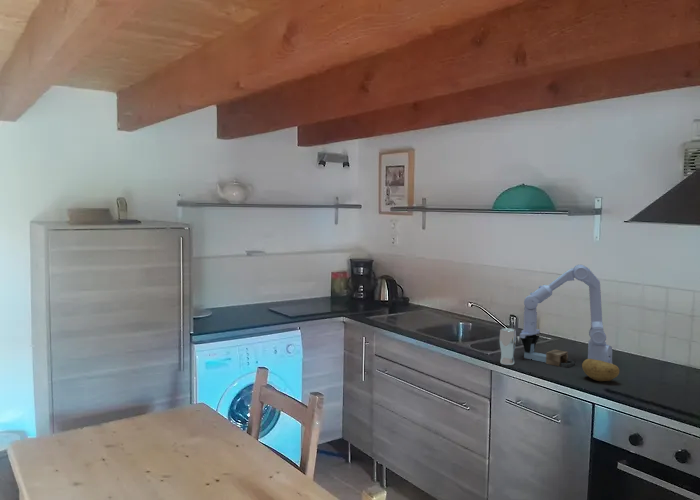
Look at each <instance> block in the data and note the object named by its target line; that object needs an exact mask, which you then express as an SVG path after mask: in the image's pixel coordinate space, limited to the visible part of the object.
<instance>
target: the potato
mask: <svg viewBox="0 0 700 500" xmlns="http://www.w3.org/2000/svg"><path fill="white" fill-rule="evenodd" d="M581 366H582V368H581V369H582V370H583V372H584V374H585V375H587V376H588V377H589V378H590V379H592V380H593V381H597V382H611V381H612V380H614V379H615V378H617V377H618V376H619V374H620V368H619V367H618V365H616V364H614V363H613V364H611V363H607V362H604V361H600V360H595V359H588V358H586V359H584V360H583V362H582V363H581Z"/></svg>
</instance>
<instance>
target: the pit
mask: <svg viewBox="0 0 700 500" xmlns="http://www.w3.org/2000/svg"><path fill="white" fill-rule="evenodd" d="M575 365H576V361H573V360H569V359H568V360H567V363H562V362H560V366H559V367H562V368H571V367H573V366H575Z"/></svg>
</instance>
